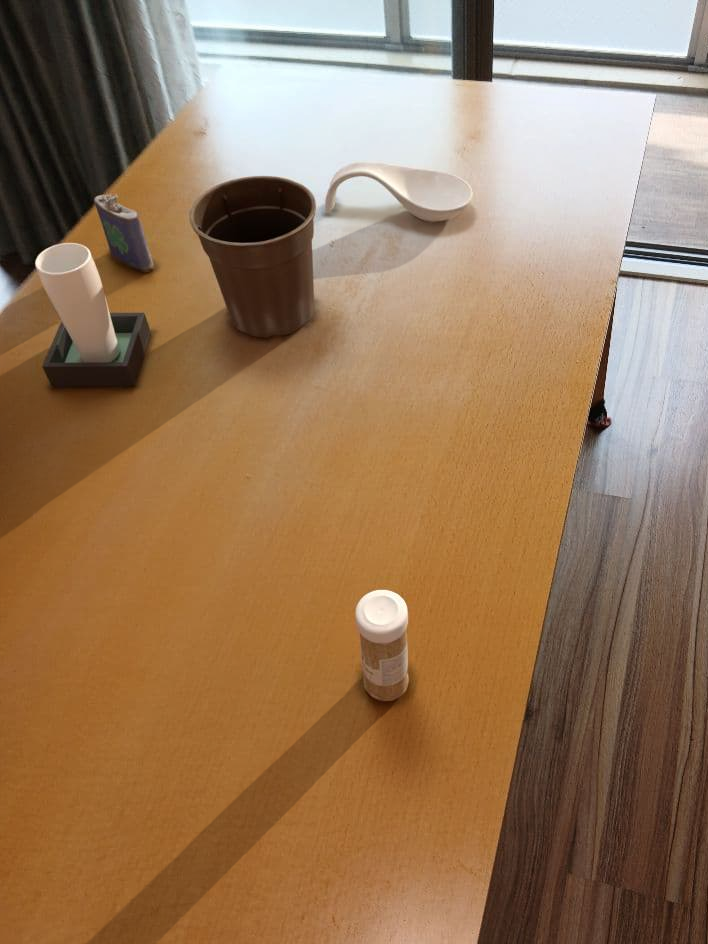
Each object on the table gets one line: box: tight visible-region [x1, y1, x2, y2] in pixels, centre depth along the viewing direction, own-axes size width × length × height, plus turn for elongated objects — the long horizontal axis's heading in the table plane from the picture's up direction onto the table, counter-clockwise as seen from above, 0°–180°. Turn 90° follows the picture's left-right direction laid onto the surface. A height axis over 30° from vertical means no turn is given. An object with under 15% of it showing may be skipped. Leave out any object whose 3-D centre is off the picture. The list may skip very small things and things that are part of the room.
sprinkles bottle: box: [355, 589, 410, 702], centre depth 75 cm, size 5×5×13 cm
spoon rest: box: [324, 161, 474, 223], centre depth 130 cm, size 24×12×7 cm, turn 85°
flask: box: [93, 193, 155, 273], centre depth 121 cm, size 9×3×11 cm, turn 50°
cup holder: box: [41, 312, 152, 388], centre depth 110 cm, size 11×11×4 cm
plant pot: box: [188, 175, 317, 339], centre depth 110 cm, size 16×16×16 cm
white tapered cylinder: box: [34, 242, 120, 363], centre depth 105 cm, size 7×7×15 cm
